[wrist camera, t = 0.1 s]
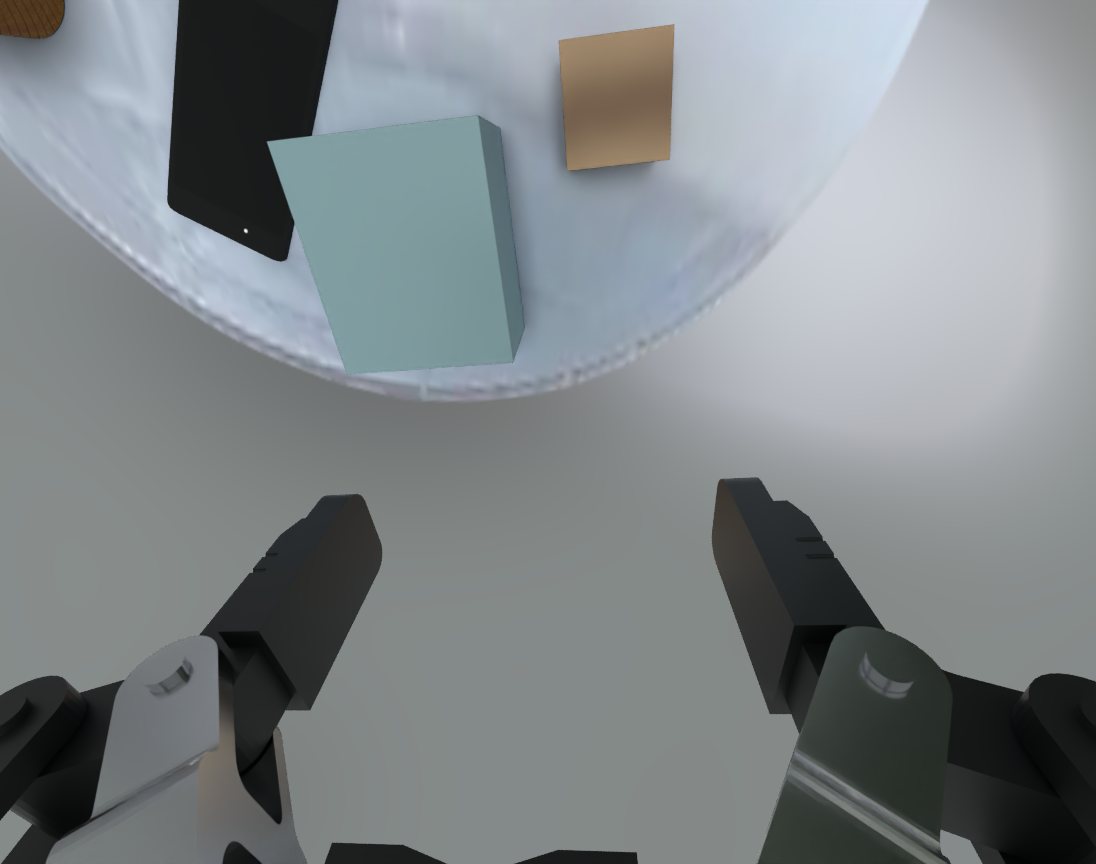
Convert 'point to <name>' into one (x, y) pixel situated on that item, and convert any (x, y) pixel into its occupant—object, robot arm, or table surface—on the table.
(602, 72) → the walnut cube
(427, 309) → the stand
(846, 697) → the robot arm
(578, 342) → the table surface
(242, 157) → the cell phone
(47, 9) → the disposable coffee cup
